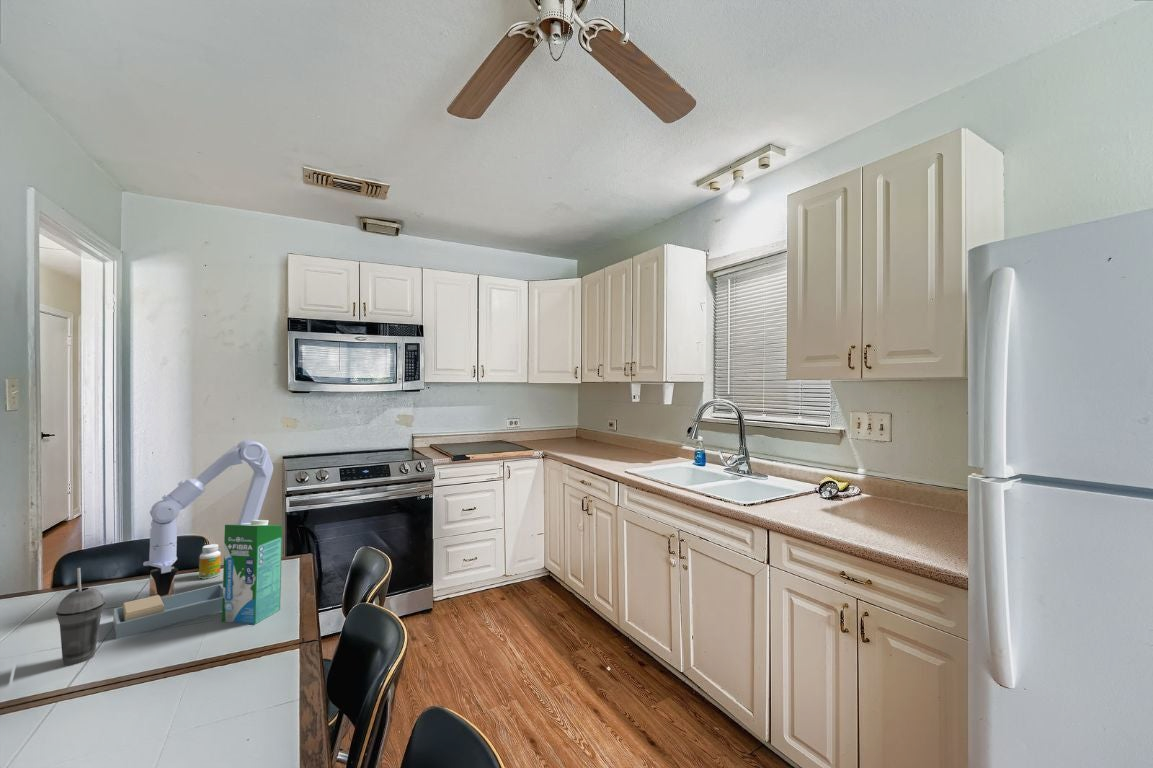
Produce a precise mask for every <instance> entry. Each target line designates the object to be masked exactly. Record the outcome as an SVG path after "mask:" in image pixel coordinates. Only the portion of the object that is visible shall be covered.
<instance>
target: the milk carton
mask: <svg viewBox="0 0 1153 768" xmlns="http://www.w3.org/2000/svg"><path fill="white" fill-rule="evenodd" d="M236 524H237V523H236ZM236 524H225V525H224V537H223V538H224V541H223V542H224V543H223V573H222V575H223V576H222V577H223V578H222V582H223V601H222V611H221V622H225V623H226V622H227V623H243V624H244V623H245V624H247V626H255V625H257V624H258V623H260V622H262V621H264V620H266V618H268V617H270V616H272V615H273V614H275V613H276V612H278V611H280V610H281V594H282V593H281V591H282V589H281V588H282V585H281V584H282V551H283V550H282V549H283V547H282V546H283V525H282V524H281V525H280V524H269V520H268V519H267V520H266V519H258V520H252V521H251V524H237V525H236Z"/></svg>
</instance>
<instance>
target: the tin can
mask: <svg viewBox="0 0 1153 768" xmlns="http://www.w3.org/2000/svg"><path fill="white" fill-rule="evenodd" d="M173 568H175V566H174V565H173V566H171V569H173ZM158 570H160V568H157V569H154V570H152V571H151V572H153V571H158ZM149 576H150V577H149V595H148V597H151V596H156V595H158V594H157V590H156V584H155V581H154V579H153V577H152V576H151V574H150V575H149ZM174 589H175V577H174V578H173V580H172V583H171V587H170V591H169V593H168V595H164V596H160V598H162V597H166V596H171V595H175V594H174V593H175V591H174Z"/></svg>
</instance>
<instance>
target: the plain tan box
mask: <svg viewBox="0 0 1153 768" xmlns="http://www.w3.org/2000/svg"><path fill="white" fill-rule="evenodd" d="M122 607H123V609H122V622H125V621H129V620H133V619H137V618H141V617H145V616H149V615H153V614H157V613H161V612H164V604H163V602H162V600H161V598H160V596H159V595H156V596H151V597H149V596H148V597H144V598H139V599H136V600H131V601H125V602H124V603H123V604H122Z"/></svg>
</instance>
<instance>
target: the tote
mask: <svg viewBox="0 0 1153 768" xmlns="http://www.w3.org/2000/svg"><path fill="white" fill-rule="evenodd" d="M161 600H162V602H163V604H164V612H161V613H157V614H153V615H149V616H145V617H141V618H137V619H133V620H129V621H125V622H122V609H123V606H120V607H116V608H113V618H112V619H113V620H112V622H113V623H112V624H113V628H114V634H115V639H116V640H118V639H123V638H127V637H130V636H133V635H137V634H141V633H145V632H149V631H152V630H157V629H159V628H163V627H167V626H171V625H175V624H178V623H181V622H186V621H189V620H193V619H197V618H200V617H201V618H202V617H205V616H208V615H209V616H210V615H212V614H216V613H219V612H222V601H223V585H222V583H219V584H214V585H211V586H206V587H202V588H201V587H200V588H197V589H193V590H189V591H184V592H180V593H176V594H173V595H171V596H166V597H162V598H161Z"/></svg>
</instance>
